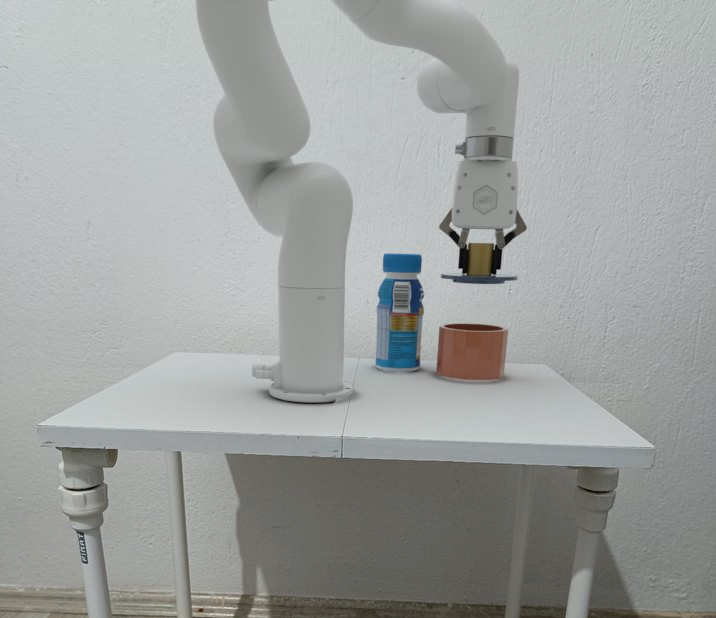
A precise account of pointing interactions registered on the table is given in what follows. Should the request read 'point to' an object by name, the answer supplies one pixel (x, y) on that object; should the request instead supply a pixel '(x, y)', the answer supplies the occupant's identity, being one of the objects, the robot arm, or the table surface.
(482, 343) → the tin
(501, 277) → the cover
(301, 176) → the robot arm
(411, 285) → the beverage bottle
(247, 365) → the table surface
